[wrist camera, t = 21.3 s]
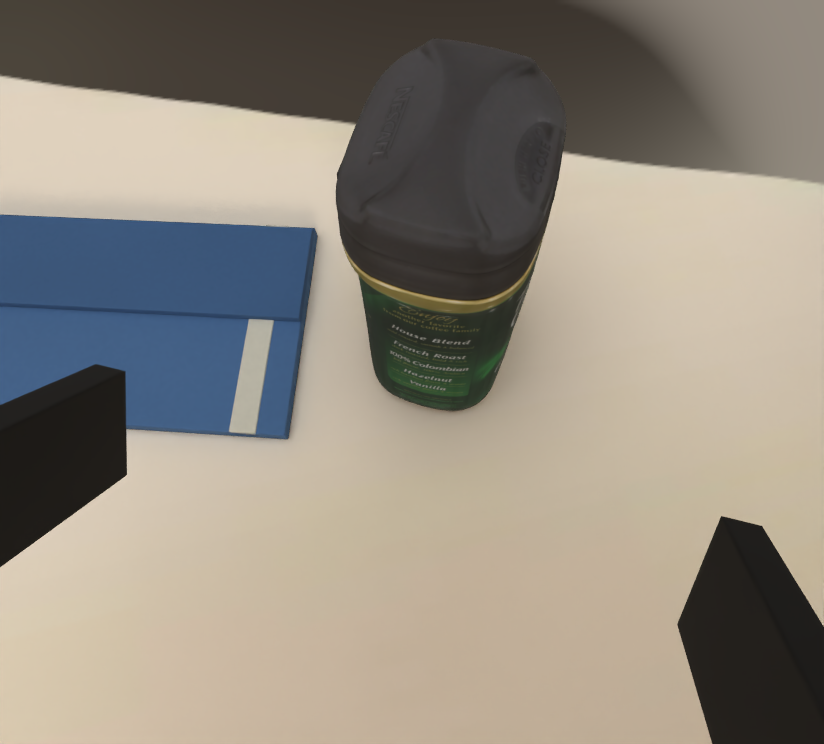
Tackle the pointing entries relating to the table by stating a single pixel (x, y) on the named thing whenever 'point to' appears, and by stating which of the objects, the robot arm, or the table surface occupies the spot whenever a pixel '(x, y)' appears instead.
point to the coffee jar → (449, 213)
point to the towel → (160, 316)
